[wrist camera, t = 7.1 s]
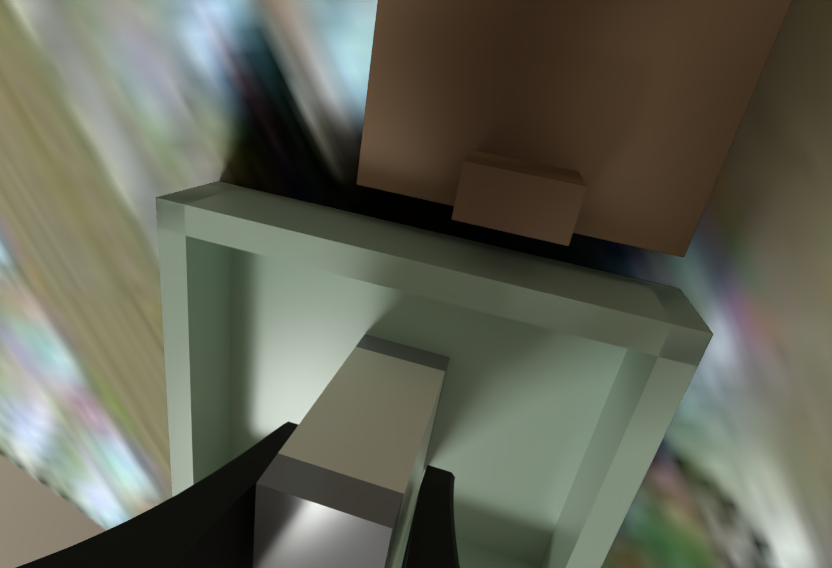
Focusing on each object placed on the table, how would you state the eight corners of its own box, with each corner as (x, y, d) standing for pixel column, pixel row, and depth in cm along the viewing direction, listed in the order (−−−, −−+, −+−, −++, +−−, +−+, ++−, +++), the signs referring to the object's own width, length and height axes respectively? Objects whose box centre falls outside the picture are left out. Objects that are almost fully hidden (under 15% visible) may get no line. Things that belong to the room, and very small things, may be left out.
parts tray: (680, 289, 12) (713, 333, 10) (556, 575, 16) (559, 652, 14) (217, 181, 14) (155, 197, 12) (218, 462, 18) (173, 514, 16)
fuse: (450, 356, 14) (392, 528, 8) (423, 470, 15) (362, 674, 10) (364, 333, 14) (256, 483, 9) (349, 447, 16) (250, 631, 10)
